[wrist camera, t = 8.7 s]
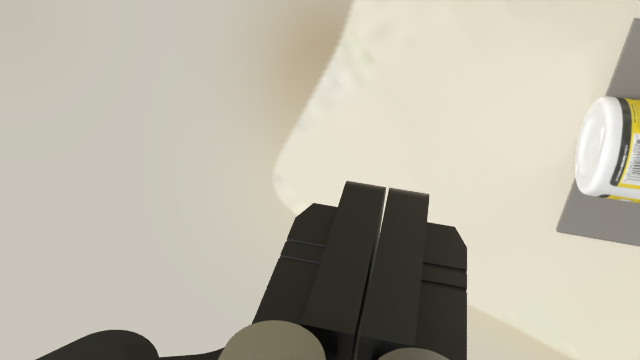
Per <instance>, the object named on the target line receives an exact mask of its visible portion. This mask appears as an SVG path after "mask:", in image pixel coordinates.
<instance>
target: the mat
mask: <svg viewBox="0 0 640 360" xmlns="http://www.w3.org/2000/svg"><path fill="white" fill-rule="evenodd" d="M606 96H608V97H618V98H628V99H636V100H640V19H636V18H634V20H633V23H632V26H631V28H630V31H629V34H628V36H627V39H626V42H625V45H624V47H623V50H622V53H621V55H620V58H619V61H618V63H617V66H616V69H615V72H614V74H613V77H612V80H611V82H610V85H609V88H608V91H607V93H606ZM556 230H557V232H560V233H566V234H571V235H577V236H583V237H589V238H594V239H600V240H606V241H611V242H617V243H623V244H629V245H634V246H640V203H634V202H627V201H620V200H613V199H607V198H600V197H595V196H589V195H586V194H584V193H582V192H581V191H580V190H579V188H578V186H577V183H576V177H575V180H574V183H573V185H572V188H571V191H570V193H569V196H568V199H567V201H566V204H565V207H564V210H563V212H562V215H561V218H560V220H559V223H558V226H557V228H556Z"/></svg>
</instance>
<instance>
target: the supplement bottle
mask: <svg viewBox="0 0 640 360" xmlns="http://www.w3.org/2000/svg"><path fill="white" fill-rule="evenodd" d="M575 177H576V183H577V186H578V188H579V190H580V191H581V192H582V193H584V194H586V195H589V196H595V197H600V198H607V199H613V200H620V201H627V202H634V203H640V100H636V99H628V98H618V97H608V96H605V97H601V98H599V99H597V100H596V101H595V102H594V103H593V104H592V106H591V107H590V109H589V110H588V112H587V114H586V116H585V119H584V121H583V123H582V126H581V129H580V133H579V137H578V142H577V148H576V157H575Z"/></svg>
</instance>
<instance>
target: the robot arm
mask: <svg viewBox="0 0 640 360" xmlns="http://www.w3.org/2000/svg"><path fill="white" fill-rule="evenodd" d="M385 193H386V187H381V186H375V185H369V184H362V183H356V182H350V181H346V183H345V186H344V190H343V193H342V196H341V199H340V202H339V205H338V207H333V206H328V205H322V204H316V203H313V204H312V205H311V206H309V207H308V208H307V209H306V210H305V211H303V212H302V213H301V214H300V215H298V216H297V217H296V218H295V220H294V223H293V225H292V228H291V230H290V232H289V235H288V237H287V242H286V243H285V245H284V247H283V250H282V252H281V256H280V258H279V259H278V262H277V264H276V267H275V269H274V272H273V274H272V276H271V279H270V281H269V284H268V286H267V289H266V291H265V294H264V296H263V298H262V301H261V303H260V306H259V308H258V311H257V313H256V316H255V318H254V320H253V322H252V324H251V325H249V326H247V327H245V328H244V329H241V330H240V331H239V332H237V333H236V334H235V335H234V336H233V337H232V338H231V339H230V340H229V341H228V343H227V344H226V346H225V347H224V348H222V349H219V350H217V351H213V352H209V353H205V354H198V355H186V356H172V357H159V356H158V353H157V350H156V349H155V347H154V346H153V344H152V343H151V342H150V341H149V340H148V339H146V338H145V337H143V336H141V335H139V334H137V333H134V332H131V331H126V330H106V331H101V332H97V333H93V334H90V335H87V336H85V337H83V338H80V339H78V340H76V341H74V342H72V343H70V344H68V345H66V346H64V347H61V348H59V349H57V350H55V351H53V352H51V353H49V354H47V355H45V356H43V357H40V358H38V359H36V360H467V293H466V290H467V274H466V272H467V247H466V245H465V244H464V242H463V240H462V238H461V237H460V235H459V233H458V232H457V230H456V228H455V227H452V226H446V225H440V224H434V223H429V222H427V215H428V205H429V194H425V193H419V192H412V191H406V190H400V189H394V188H389V192H388V197H387V202H386V207H385V212H384V217H383V222H382V227H381V221H382V214H383V207H384V200H385ZM380 228H381V232H380ZM379 235H380V237H379Z"/></svg>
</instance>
